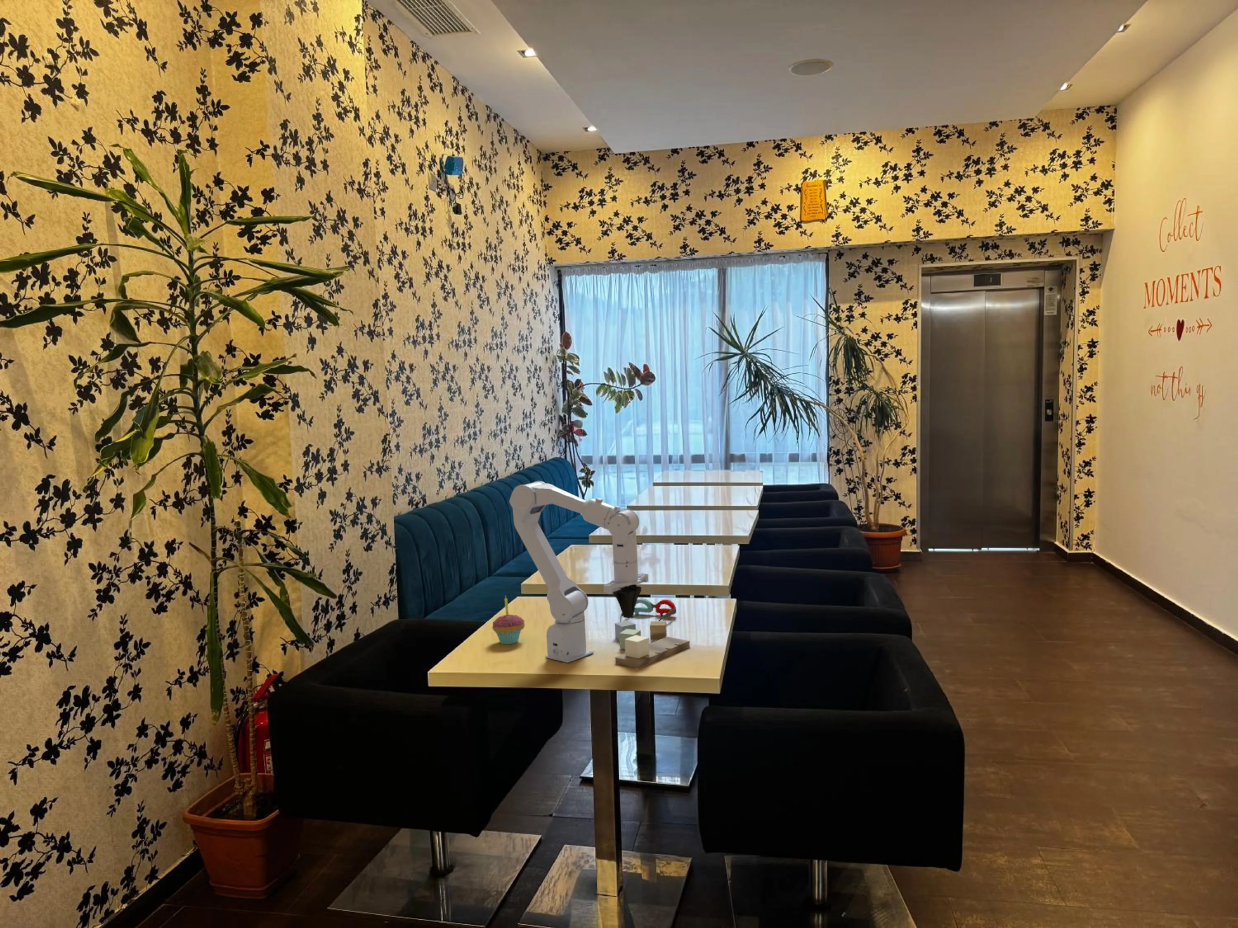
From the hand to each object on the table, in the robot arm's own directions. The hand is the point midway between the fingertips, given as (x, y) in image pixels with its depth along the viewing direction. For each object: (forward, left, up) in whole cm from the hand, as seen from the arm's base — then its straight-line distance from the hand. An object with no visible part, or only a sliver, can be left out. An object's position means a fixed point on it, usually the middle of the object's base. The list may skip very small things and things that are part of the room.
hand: (628, 617), depth 202 cm
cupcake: (-6, +37, -11) cm, 39 cm away
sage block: (+8, +7, -10) cm, 15 cm away
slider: (0, -2, -9) cm, 9 cm away
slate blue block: (+13, +13, -10) cm, 21 cm away
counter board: (+6, -2, -10) cm, 12 cm away
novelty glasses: (+29, +19, -11) cm, 36 cm away
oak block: (+18, +6, -10) cm, 22 cm away
